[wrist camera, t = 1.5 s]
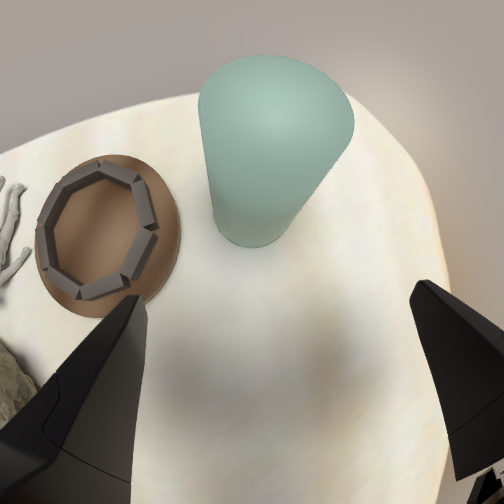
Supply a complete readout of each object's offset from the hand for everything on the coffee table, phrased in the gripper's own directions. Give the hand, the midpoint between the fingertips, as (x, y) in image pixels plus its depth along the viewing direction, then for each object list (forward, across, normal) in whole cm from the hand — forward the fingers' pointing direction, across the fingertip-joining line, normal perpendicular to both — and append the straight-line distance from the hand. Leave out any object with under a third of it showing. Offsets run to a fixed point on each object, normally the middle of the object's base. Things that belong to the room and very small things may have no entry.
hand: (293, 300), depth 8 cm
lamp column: (+14, 0, +4) cm, 15 cm away
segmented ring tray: (+13, +12, +5) cm, 18 cm away
